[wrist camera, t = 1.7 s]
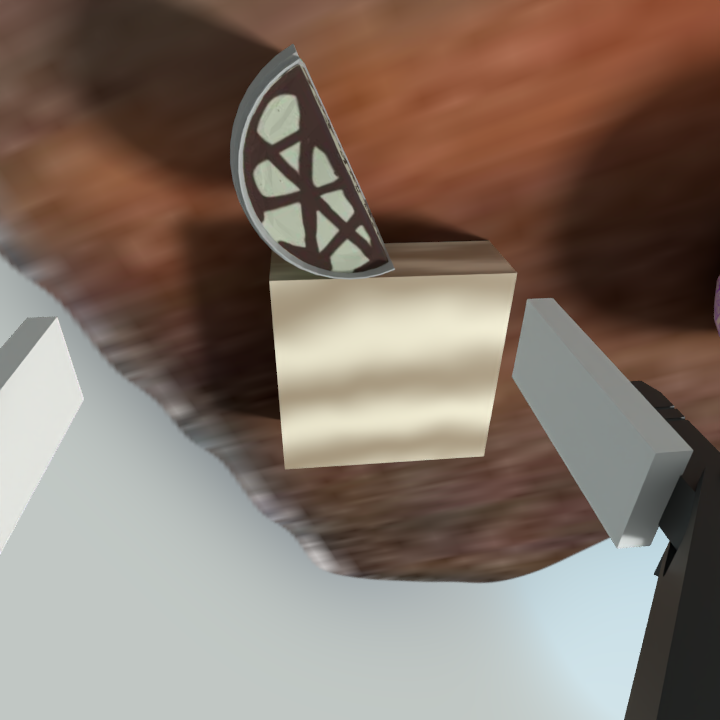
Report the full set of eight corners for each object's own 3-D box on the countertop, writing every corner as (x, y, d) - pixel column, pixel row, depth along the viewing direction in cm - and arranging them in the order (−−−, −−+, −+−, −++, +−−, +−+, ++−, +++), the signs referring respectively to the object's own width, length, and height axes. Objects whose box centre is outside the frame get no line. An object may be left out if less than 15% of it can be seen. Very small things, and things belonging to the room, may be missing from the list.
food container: (203, 86, 33) (172, 110, 25) (292, 37, 32) (293, 45, 24) (298, 257, 39) (300, 322, 31) (375, 220, 39) (398, 277, 30)
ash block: (271, 246, 39) (269, 281, 34) (488, 240, 40) (517, 272, 35) (285, 420, 47) (285, 469, 42) (463, 410, 49) (483, 456, 44)
